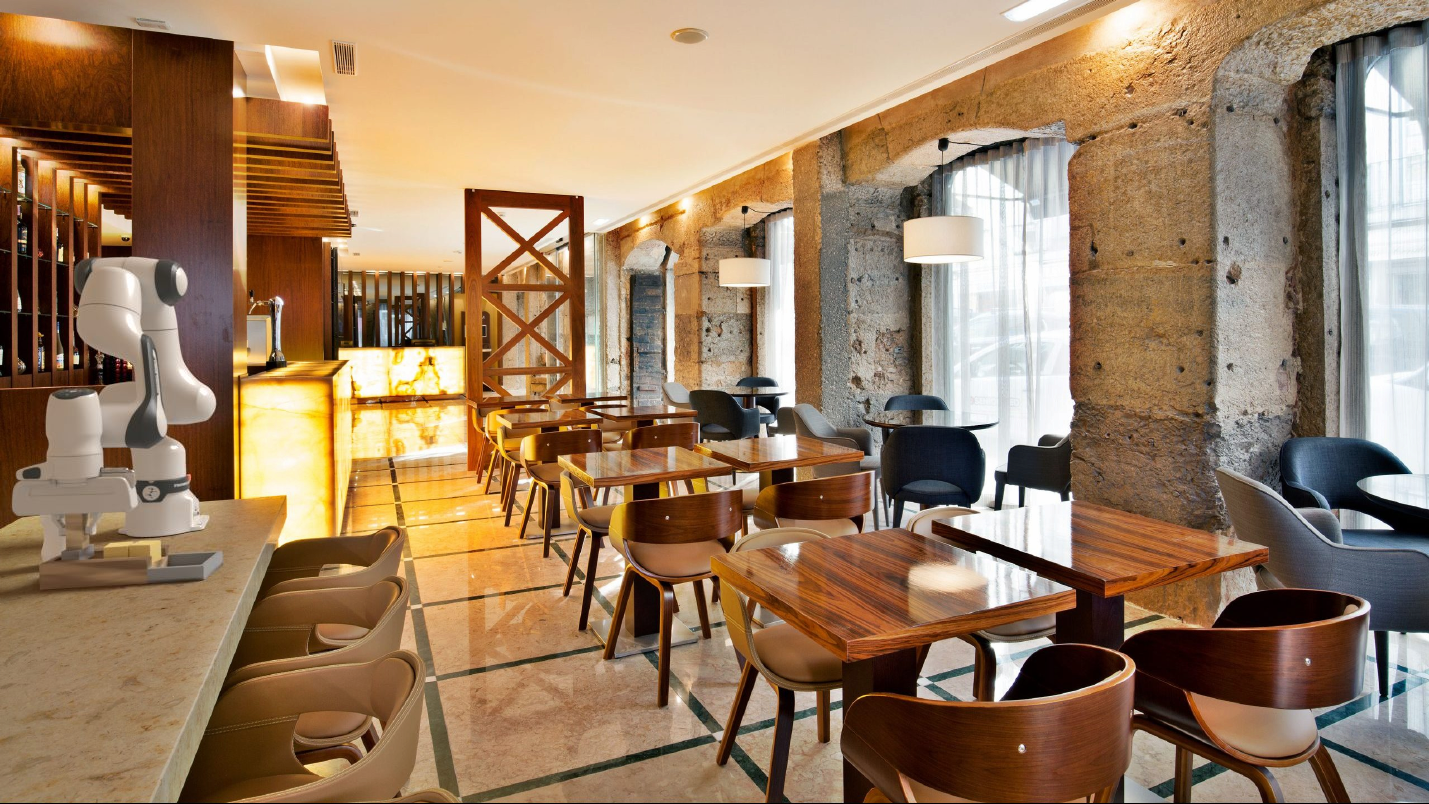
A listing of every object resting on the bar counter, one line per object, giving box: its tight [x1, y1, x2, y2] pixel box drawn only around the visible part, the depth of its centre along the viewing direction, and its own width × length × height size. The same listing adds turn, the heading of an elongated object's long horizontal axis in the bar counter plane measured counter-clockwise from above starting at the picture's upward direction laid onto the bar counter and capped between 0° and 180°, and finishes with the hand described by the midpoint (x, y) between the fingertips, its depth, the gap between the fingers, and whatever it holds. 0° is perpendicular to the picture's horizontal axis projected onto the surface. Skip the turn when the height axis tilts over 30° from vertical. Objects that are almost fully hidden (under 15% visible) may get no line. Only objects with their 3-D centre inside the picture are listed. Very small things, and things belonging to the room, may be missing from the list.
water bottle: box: [39, 515, 66, 563], centre depth 165 cm, size 7×7×25 cm
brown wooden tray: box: [38, 544, 171, 591], centre depth 157 cm, size 12×18×5 cm, turn 107°
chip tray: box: [146, 550, 224, 584], centre depth 161 cm, size 12×10×3 cm
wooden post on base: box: [61, 513, 95, 561], centre depth 155 cm, size 6×3×10 cm, turn 17°
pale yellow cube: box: [129, 539, 162, 563], centre depth 159 cm, size 4×4×4 cm
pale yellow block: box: [102, 541, 134, 558], centre depth 157 cm, size 4×4×4 cm
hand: (77, 535), depth 155 cm, fingers closed on wooden post on base, 3 cm apart
